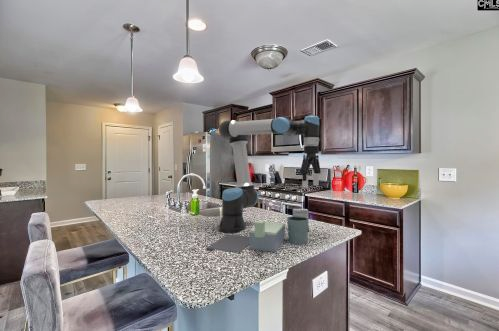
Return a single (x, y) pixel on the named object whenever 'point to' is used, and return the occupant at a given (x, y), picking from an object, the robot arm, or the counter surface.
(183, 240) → the counter surface
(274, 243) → the tub
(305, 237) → the teal cup
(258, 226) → the lid
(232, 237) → the mat
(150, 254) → the counter surface
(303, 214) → the ink box
